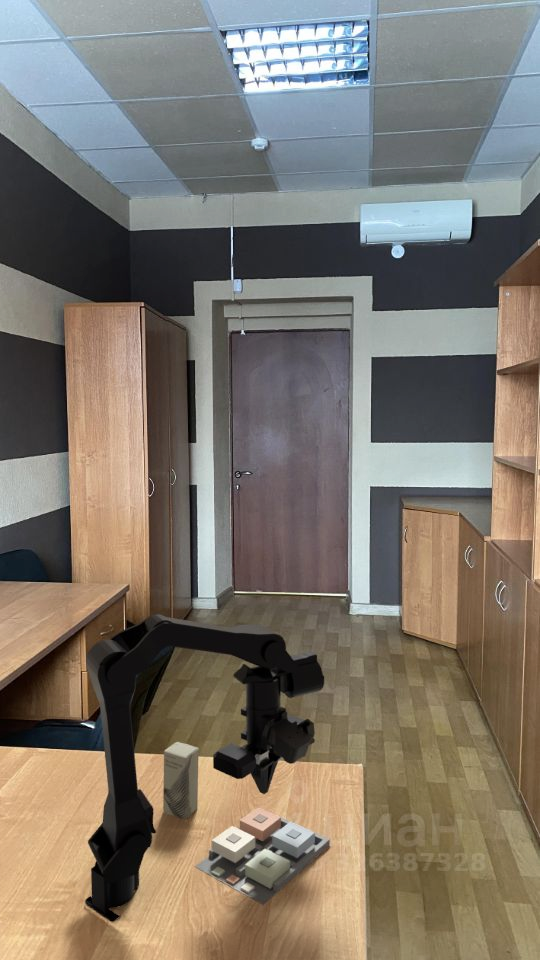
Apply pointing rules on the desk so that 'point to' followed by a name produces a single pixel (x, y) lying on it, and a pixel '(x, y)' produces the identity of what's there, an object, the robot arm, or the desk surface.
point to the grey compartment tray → (236, 871)
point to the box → (180, 780)
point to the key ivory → (233, 844)
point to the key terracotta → (260, 823)
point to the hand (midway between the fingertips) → (263, 792)
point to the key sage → (266, 868)
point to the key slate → (293, 839)
